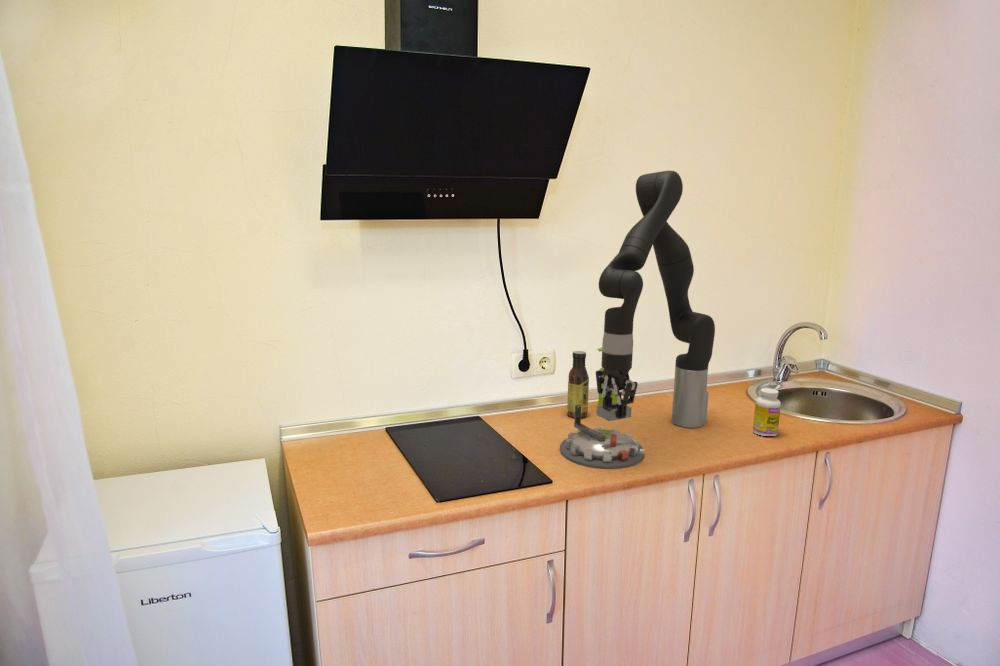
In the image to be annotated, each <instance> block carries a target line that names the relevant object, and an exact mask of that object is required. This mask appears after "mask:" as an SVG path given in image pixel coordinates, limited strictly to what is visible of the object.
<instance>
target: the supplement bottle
mask: <svg viewBox="0 0 1000 666" xmlns="http://www.w3.org/2000/svg"><path fill="white" fill-rule="evenodd" d="M759 394H760V396H759V397H757V398H756V399H755V406H754V412H753V413H754V414H753V416H754V417H753V425H752V432H753V433H754V434H755V435H757V434H758V435H757V436H759V435H761V436H760V437H763V436H774V437H777V436H778V434H779V425H780V418H781V417H780V415H781V410H782V409H781V408H782V407H781V406H782V403H781V401H780V399H778V396H779V390H777V389H775V388H770V387H762V388H761V389H760V392H759Z"/></svg>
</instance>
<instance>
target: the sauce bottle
mask: <svg viewBox="0 0 1000 666" xmlns="http://www.w3.org/2000/svg"><path fill="white" fill-rule="evenodd" d="M586 358H587V352H586V351H582V350H574V351H572V367H571V369H570V370H569V372H568V382H567V405H566V406H567V415H568V416H569V417H571V418H573V417H574V419H575V406H576V405H580V406H581V419H582V417H583V418H585V417H587V416H588V411H589V387H590V386H589V384H590V382H589V381H590V377H589V374H588V371H587V368H586Z"/></svg>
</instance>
